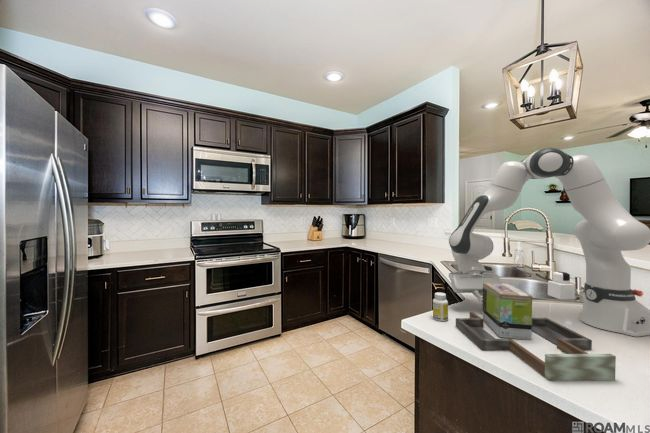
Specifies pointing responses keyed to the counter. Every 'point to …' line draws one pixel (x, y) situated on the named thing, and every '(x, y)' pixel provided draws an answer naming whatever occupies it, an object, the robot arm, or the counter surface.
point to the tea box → (507, 310)
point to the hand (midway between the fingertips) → (484, 301)
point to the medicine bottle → (561, 286)
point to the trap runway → (555, 365)
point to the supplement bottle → (440, 307)
